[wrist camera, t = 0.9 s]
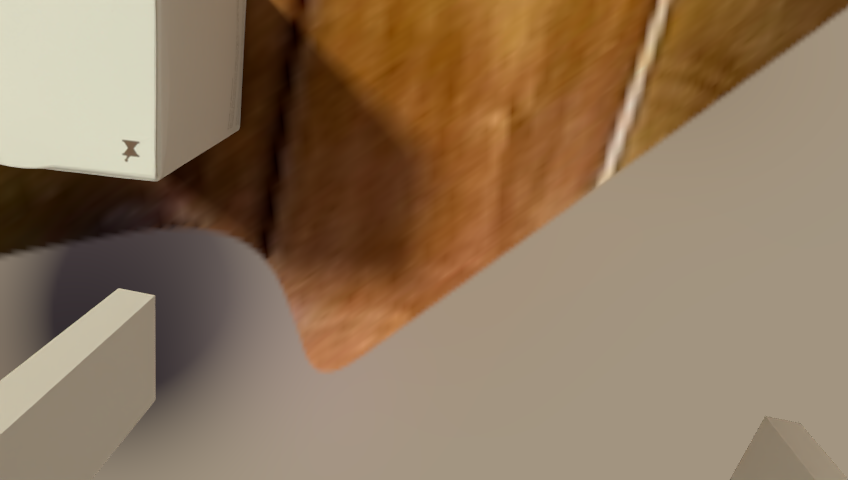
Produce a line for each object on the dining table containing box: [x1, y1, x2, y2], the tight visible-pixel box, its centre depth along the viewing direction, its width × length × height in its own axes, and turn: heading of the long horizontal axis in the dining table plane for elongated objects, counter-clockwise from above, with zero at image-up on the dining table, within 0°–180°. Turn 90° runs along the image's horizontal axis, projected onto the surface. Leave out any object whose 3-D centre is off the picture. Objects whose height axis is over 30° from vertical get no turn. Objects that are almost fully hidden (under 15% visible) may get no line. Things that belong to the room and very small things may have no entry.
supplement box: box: [0, 0, 246, 181], centre depth 23 cm, size 9×9×15 cm
